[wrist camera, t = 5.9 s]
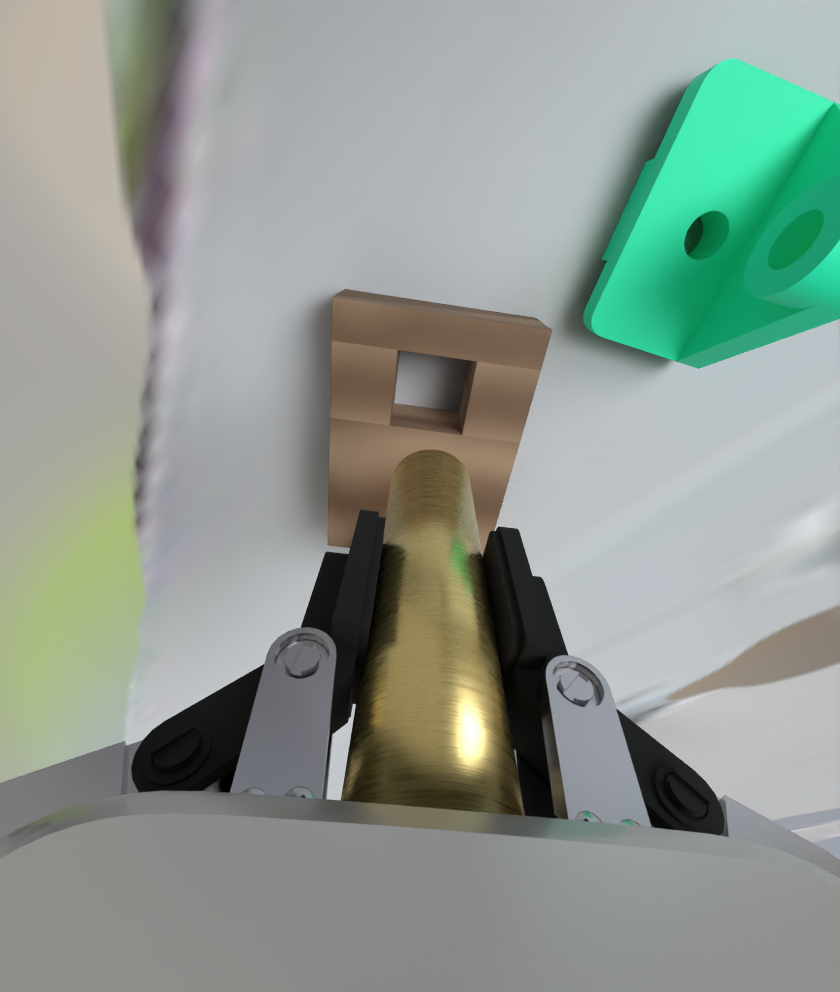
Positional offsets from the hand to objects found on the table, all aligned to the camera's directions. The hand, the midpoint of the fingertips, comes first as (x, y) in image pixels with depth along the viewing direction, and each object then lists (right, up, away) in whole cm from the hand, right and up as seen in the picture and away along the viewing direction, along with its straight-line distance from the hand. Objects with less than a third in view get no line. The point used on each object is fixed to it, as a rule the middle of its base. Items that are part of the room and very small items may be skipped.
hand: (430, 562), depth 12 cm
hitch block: (0, +7, +18) cm, 19 cm away
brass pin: (0, +2, +4) cm, 4 cm away
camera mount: (+15, +17, +12) cm, 25 cm away
